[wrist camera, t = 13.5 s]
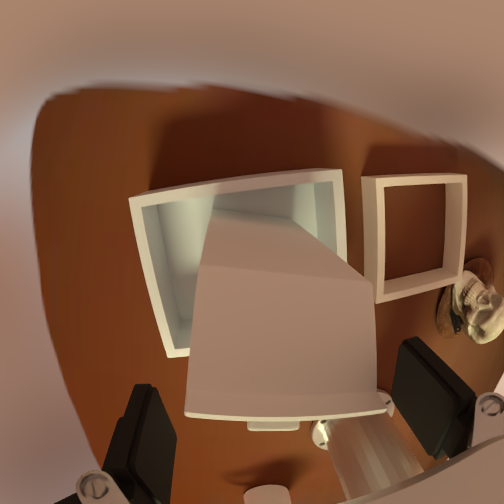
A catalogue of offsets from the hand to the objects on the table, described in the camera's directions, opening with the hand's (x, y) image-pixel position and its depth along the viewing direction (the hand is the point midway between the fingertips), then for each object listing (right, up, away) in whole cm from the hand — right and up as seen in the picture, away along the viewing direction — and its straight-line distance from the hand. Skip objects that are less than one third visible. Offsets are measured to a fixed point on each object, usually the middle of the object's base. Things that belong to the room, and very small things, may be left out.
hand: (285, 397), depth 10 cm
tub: (-2, +6, +18) cm, 19 cm away
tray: (+16, +8, +19) cm, 26 cm away
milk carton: (-2, +5, +17) cm, 18 cm away
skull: (+28, -1, +23) cm, 36 cm away
